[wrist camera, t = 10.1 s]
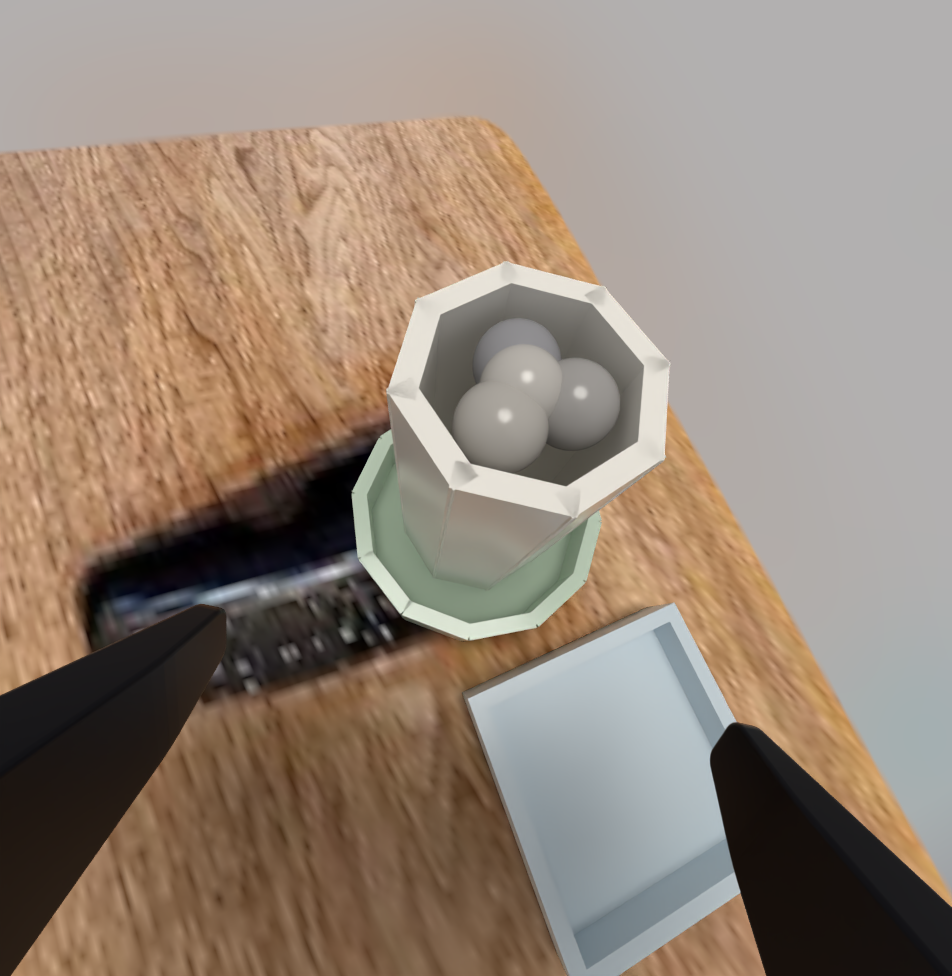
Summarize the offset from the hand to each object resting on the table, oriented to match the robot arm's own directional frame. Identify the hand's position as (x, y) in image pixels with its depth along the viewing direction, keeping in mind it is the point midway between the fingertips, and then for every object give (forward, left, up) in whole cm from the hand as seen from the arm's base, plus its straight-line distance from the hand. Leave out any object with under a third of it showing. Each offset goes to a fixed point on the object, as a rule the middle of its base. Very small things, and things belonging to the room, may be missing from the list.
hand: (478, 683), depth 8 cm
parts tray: (-1, -8, -13) cm, 15 cm away
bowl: (+6, +1, -13) cm, 14 cm away
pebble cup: (+6, +1, -12) cm, 13 cm away
